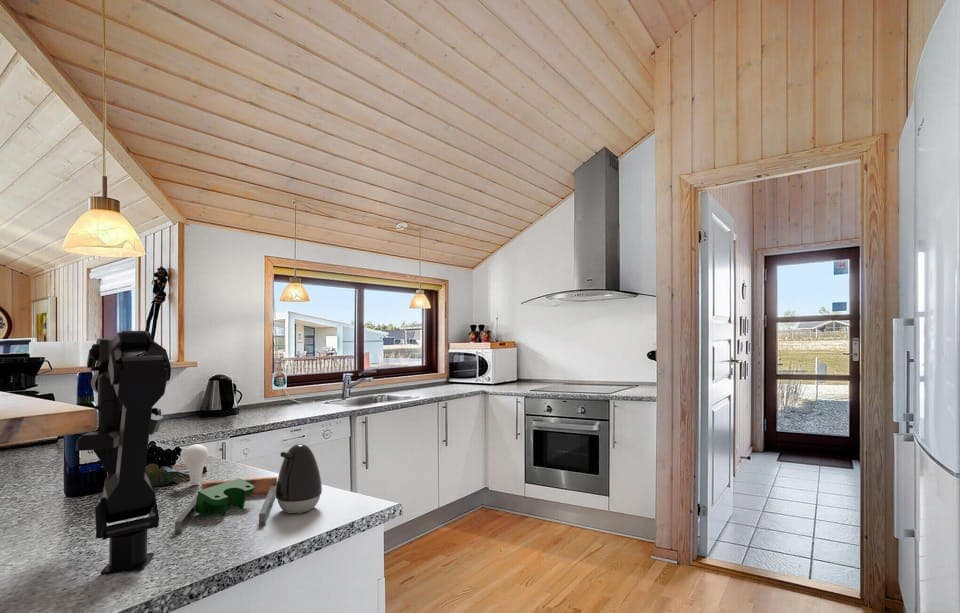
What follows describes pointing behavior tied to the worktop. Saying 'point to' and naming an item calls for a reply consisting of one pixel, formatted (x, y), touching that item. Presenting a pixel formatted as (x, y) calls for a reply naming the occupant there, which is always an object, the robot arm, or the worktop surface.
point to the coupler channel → (260, 488)
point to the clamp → (223, 497)
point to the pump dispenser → (298, 480)
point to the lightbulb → (195, 461)
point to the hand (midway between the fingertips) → (113, 476)
